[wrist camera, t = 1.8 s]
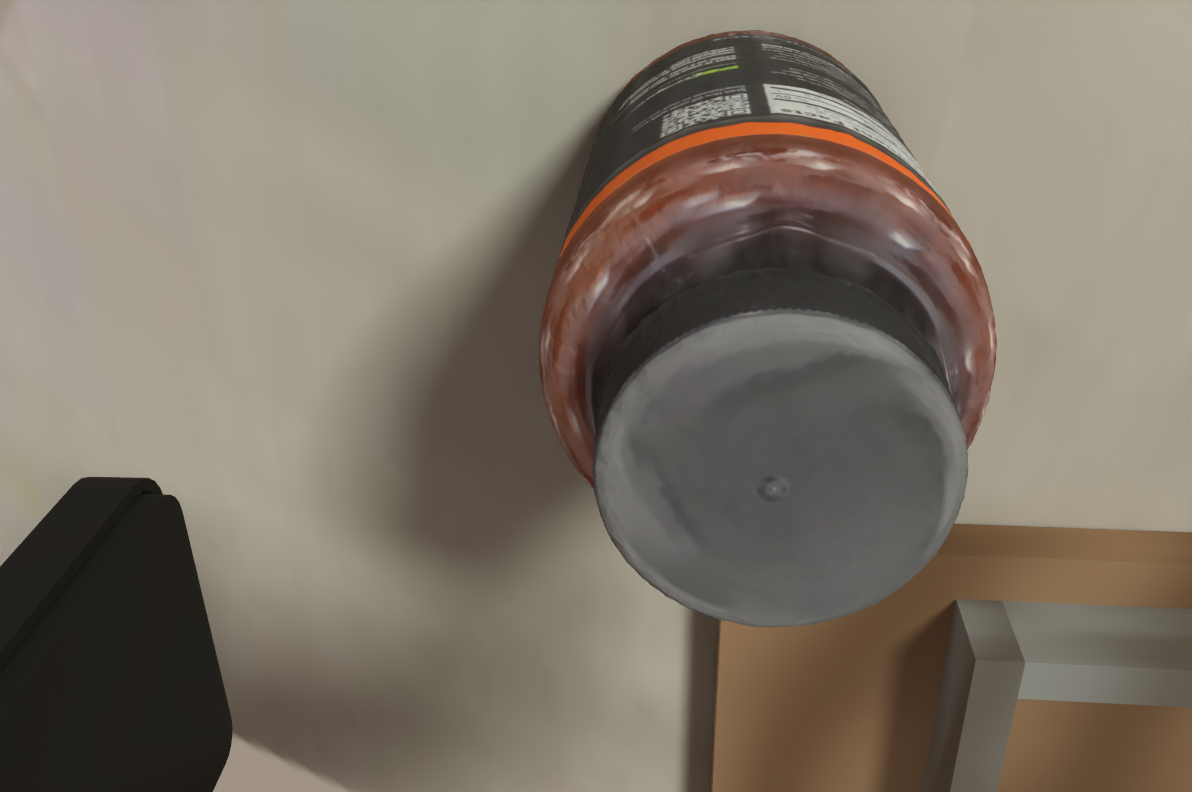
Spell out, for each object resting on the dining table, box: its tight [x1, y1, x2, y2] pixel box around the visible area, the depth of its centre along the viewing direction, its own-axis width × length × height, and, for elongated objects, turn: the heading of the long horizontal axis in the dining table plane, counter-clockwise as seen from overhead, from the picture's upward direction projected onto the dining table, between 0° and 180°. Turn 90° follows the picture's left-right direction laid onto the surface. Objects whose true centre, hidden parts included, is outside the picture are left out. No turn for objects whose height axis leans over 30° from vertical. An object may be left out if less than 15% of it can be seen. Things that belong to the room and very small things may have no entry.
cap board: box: [710, 524, 1192, 792], centre depth 26 cm, size 20×12×3 cm, turn 91°
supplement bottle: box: [539, 30, 997, 627], centre depth 16 cm, size 6×6×11 cm
